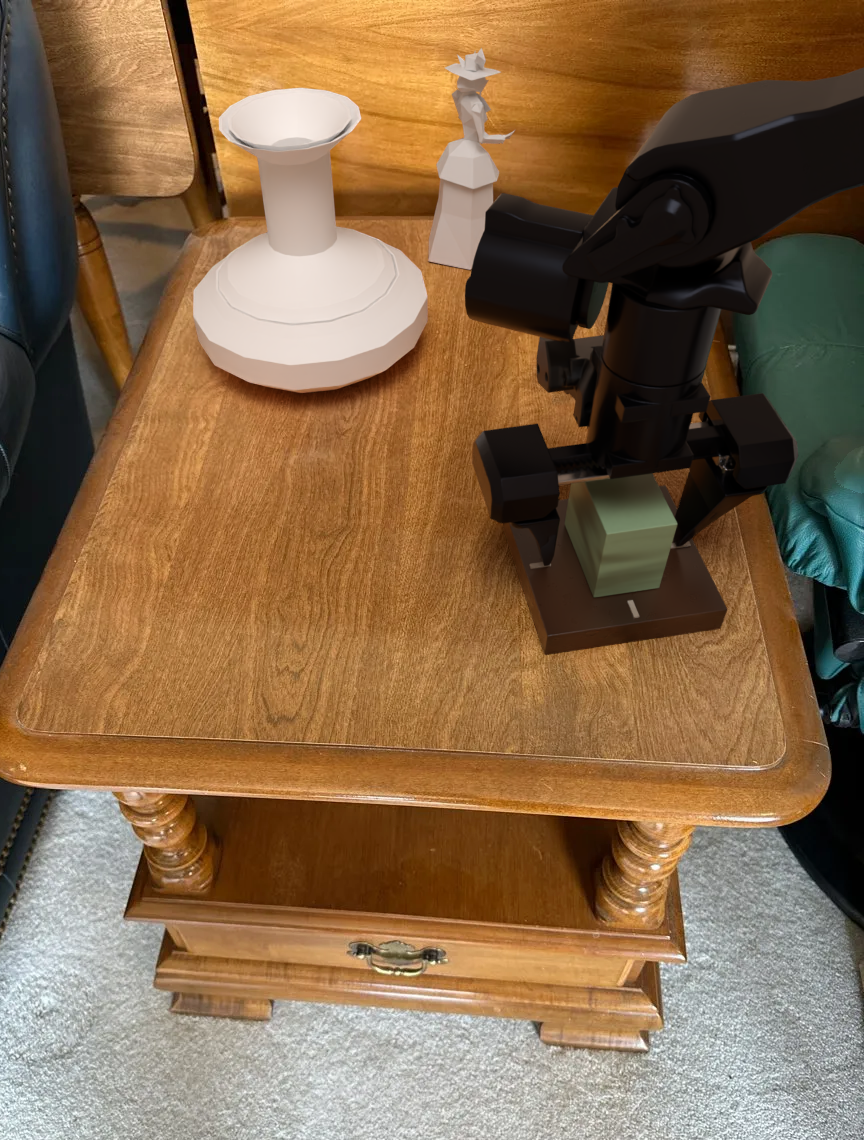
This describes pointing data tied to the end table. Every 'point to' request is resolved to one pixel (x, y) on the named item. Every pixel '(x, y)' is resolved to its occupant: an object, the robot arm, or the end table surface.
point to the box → (620, 533)
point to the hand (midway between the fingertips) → (610, 551)
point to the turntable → (591, 621)
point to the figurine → (465, 171)
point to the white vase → (305, 262)
